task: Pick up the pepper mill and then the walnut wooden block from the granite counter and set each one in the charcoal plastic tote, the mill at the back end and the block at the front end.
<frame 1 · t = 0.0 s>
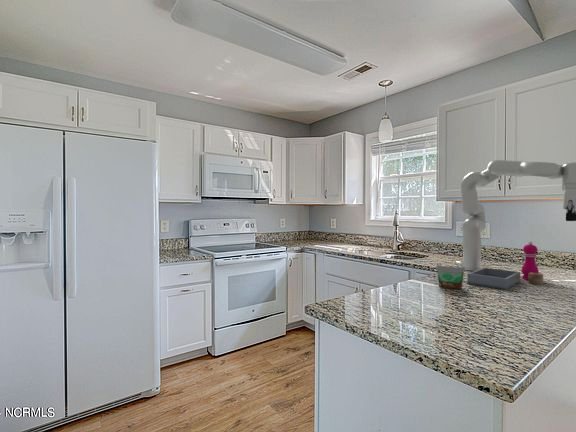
hand: (571, 221, 155), 31 cm above the worktop, tool pointing down, fingers open, 9 cm apart
food container: (450, 288, 140), on the worktop
wooden block: (535, 283, 152), on the worktop
pepper mill: (529, 279, 161), on the worktop
tote: (494, 282, 152), on the worktop
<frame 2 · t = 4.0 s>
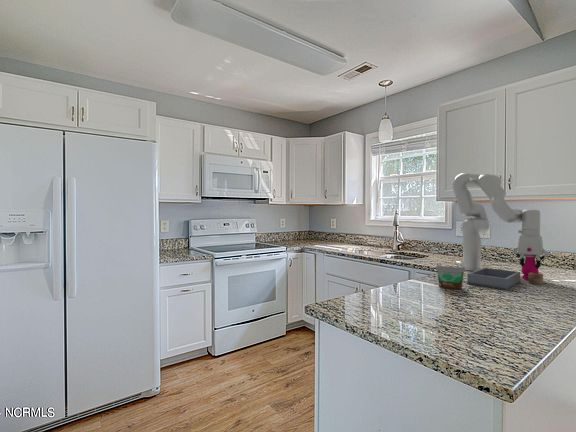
hand: (530, 266, 161), 7 cm above the worktop, tool pointing down, fingers closed on pepper mill, 5 cm apart
pepper mill: (529, 279, 161), on the worktop, touching gripper
everything else where it was.
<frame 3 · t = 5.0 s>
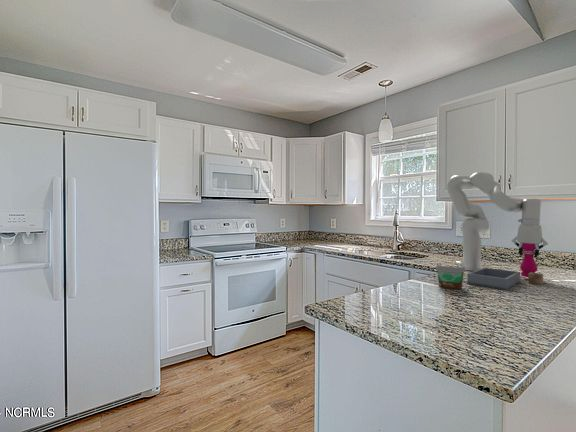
hand: (528, 255, 162), 12 cm above the worktop, tool pointing down, fingers closed on pepper mill, 5 cm apart
pepper mill: (528, 276, 162), point 1 cm above the worktop, touching gripper
everything else where it was.
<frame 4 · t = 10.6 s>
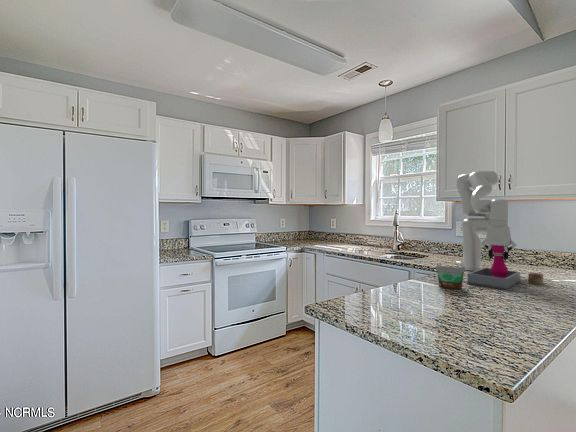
hand: (498, 258, 156), 12 cm above the worktop, tool pointing down, fingers open, 5 cm apart
pepper mill: (499, 279, 156), point 1 cm above the worktop, touching gripper, tote
everything else where it was.
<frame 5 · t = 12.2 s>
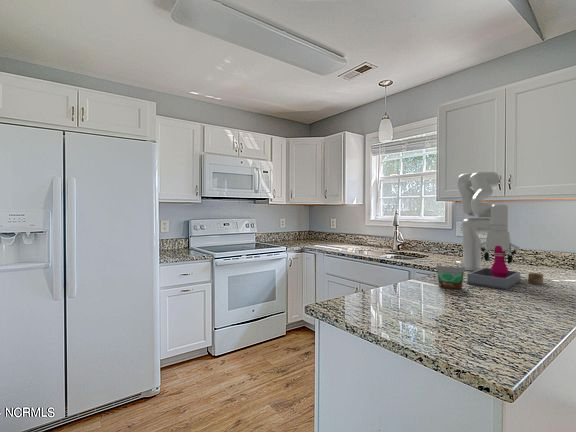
hand: (497, 261, 156), 10 cm above the worktop, tool pointing down, fingers open, 9 cm apart
pepper mill: (499, 279, 156), point 1 cm above the worktop, touching tote
everything else where it was.
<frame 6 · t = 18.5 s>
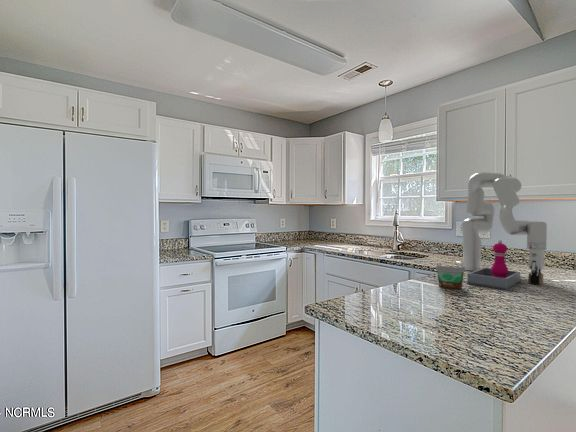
hand: (535, 282, 152), 0 cm above the worktop, tool pointing down, fingers closed on wooden block, 5 cm apart
wooden block: (535, 283, 152), on the worktop, touching gripper
everything else where it was.
when the fingers open (3 cm above the worktop, at t = 28.4 s): wooden block drops 1 cm, resting on tote.
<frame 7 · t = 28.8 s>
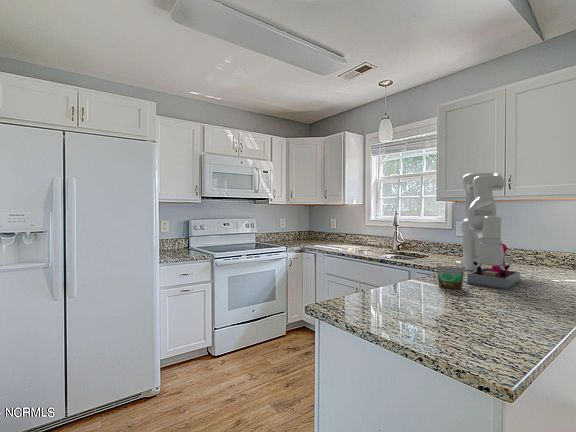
hand: (490, 276, 148), 4 cm above the worktop, tool pointing down, fingers open, 9 cm apart
wooden block: (490, 282, 148), point 1 cm above the worktop, touching tote
everything else where it was.
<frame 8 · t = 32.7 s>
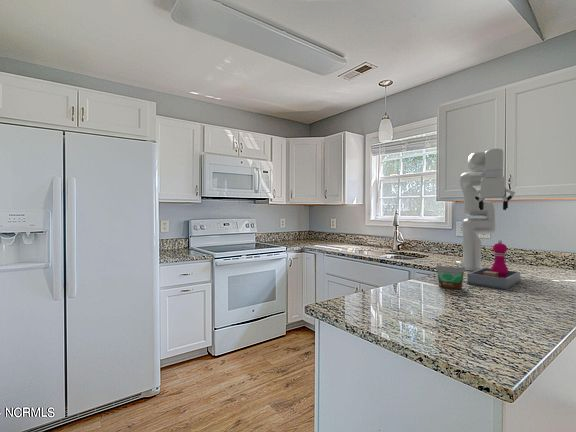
hand: (492, 209, 149), 36 cm above the worktop, tool pointing down, fingers open, 9 cm apart
nothing on the worktop moved.
at the end: pepper mill inside the target area on the tote (5.9 cm from its centre), point 0.8 cm above the tote's base; wooden block inside the target area on the tote (6.0 cm from its centre), point 1.0 cm above the tote's base; pepper mill tilted 0° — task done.
